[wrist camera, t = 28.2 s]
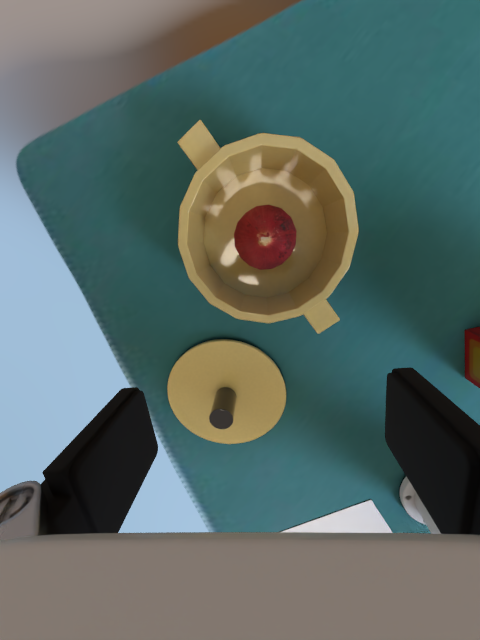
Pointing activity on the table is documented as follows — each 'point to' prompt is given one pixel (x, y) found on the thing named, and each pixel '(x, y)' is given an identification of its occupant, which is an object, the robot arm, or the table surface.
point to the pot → (277, 190)
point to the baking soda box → (472, 355)
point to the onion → (265, 237)
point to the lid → (226, 391)
